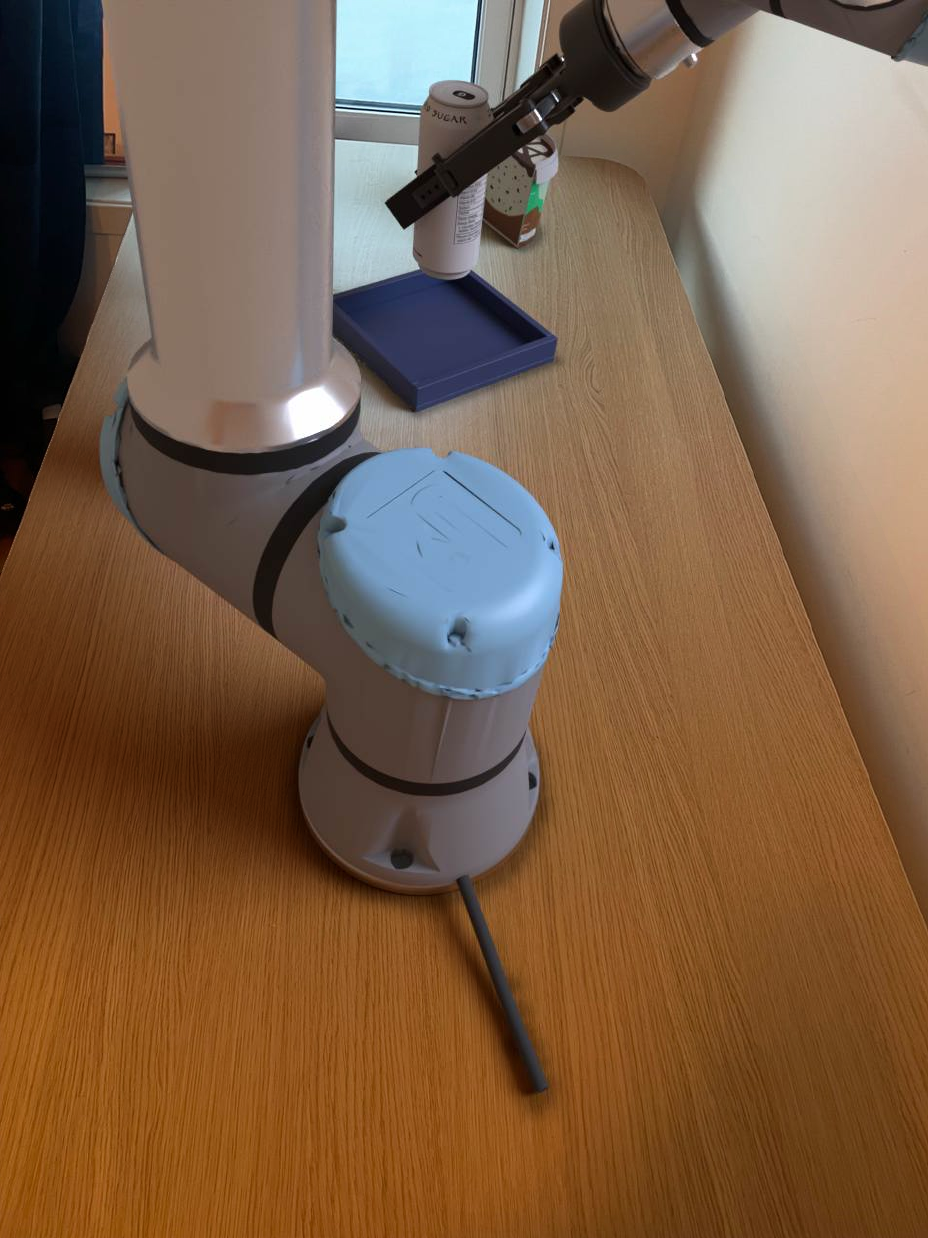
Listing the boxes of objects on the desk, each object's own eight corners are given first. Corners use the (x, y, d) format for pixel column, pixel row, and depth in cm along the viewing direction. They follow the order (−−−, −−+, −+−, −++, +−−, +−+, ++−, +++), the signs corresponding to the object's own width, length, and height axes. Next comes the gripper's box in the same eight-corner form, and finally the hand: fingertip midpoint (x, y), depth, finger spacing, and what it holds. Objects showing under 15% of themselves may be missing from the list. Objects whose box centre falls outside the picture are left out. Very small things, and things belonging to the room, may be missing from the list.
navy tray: (553, 360, 93) (558, 337, 91) (415, 412, 85) (417, 388, 83) (454, 280, 100) (457, 257, 98) (320, 321, 93) (320, 297, 91)
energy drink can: (435, 241, 89) (448, 70, 78) (489, 264, 88) (510, 92, 76) (399, 266, 86) (406, 91, 74) (453, 290, 84) (470, 114, 73)
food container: (567, 243, 108) (584, 154, 100) (525, 254, 105) (539, 164, 98) (505, 195, 114) (516, 108, 106) (464, 205, 111) (472, 117, 104)
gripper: (625, 128, 64) (395, 284, 79) (681, 42, 76) (472, 191, 91) (564, 23, 61) (336, 206, 76) (633, -50, 72) (424, 121, 88)
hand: (411, 198), depth 83 cm, fingers closed on energy drink can, 6 cm apart
